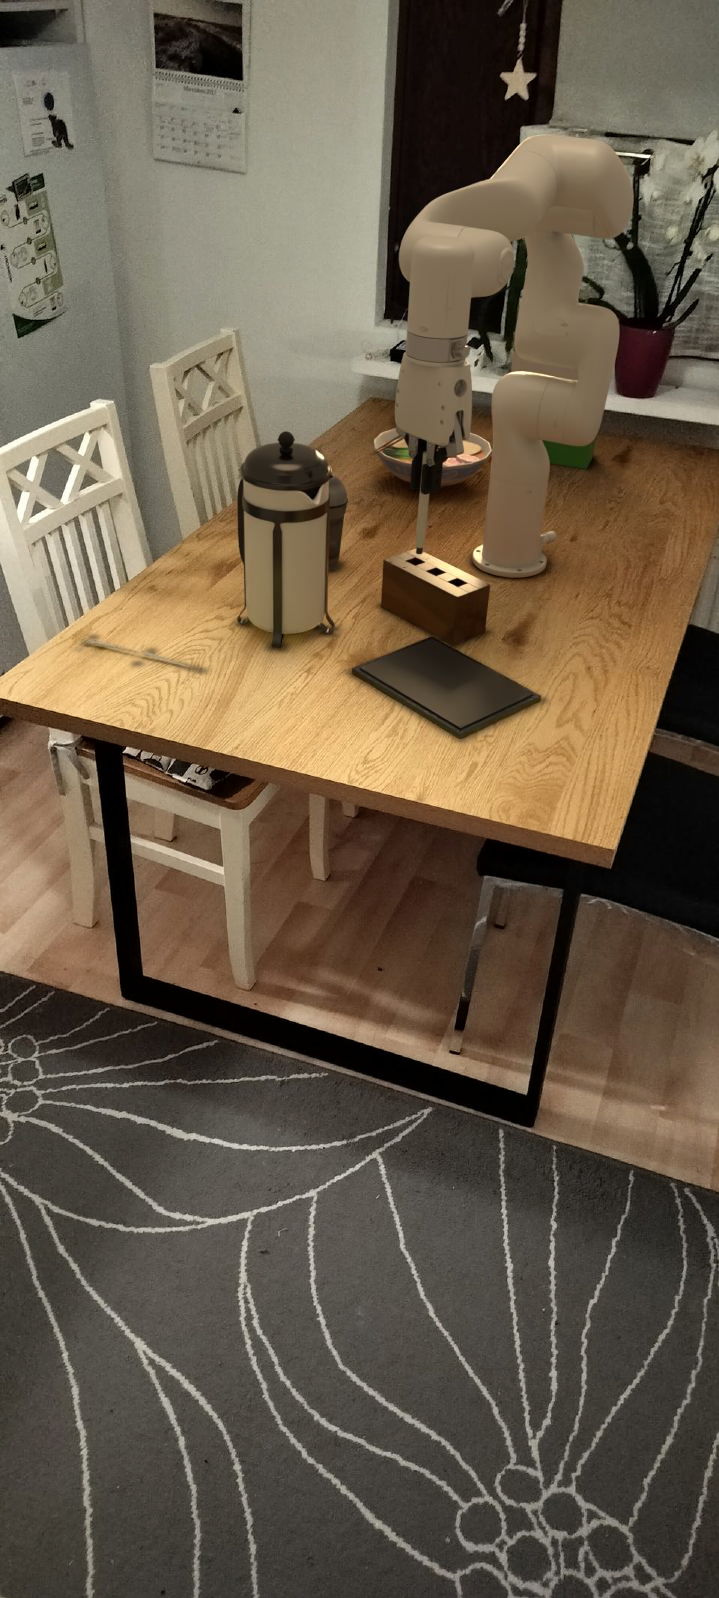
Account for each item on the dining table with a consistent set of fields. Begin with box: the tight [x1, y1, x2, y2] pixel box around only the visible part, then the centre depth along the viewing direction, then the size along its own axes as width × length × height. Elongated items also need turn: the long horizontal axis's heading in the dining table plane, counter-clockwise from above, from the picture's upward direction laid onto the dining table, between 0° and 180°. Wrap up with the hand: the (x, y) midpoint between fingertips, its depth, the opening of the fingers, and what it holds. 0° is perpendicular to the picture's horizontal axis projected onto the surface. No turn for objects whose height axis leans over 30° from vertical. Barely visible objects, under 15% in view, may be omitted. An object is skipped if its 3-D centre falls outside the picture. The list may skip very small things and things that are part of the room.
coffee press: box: [236, 430, 336, 649], centre depth 173 cm, size 17×16×30 cm
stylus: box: [84, 637, 193, 668], centre depth 172 cm, size 4×1×19 cm
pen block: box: [380, 548, 491, 646], centre depth 183 cm, size 7×16×8 cm, turn 41°
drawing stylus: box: [414, 451, 430, 554], centre depth 159 cm, size 1×1×14 cm
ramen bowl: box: [369, 427, 493, 489], centre depth 230 cm, size 25×23×8 cm
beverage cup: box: [317, 447, 349, 572], centre depth 194 cm, size 7×7×20 cm
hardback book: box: [510, 338, 597, 470], centre depth 239 cm, size 18×7×24 cm, turn 71°
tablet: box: [351, 636, 542, 739], centre depth 168 cm, size 22×16×1 cm
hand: (425, 488), depth 158 cm, fingers closed on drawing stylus, 1 cm apart
